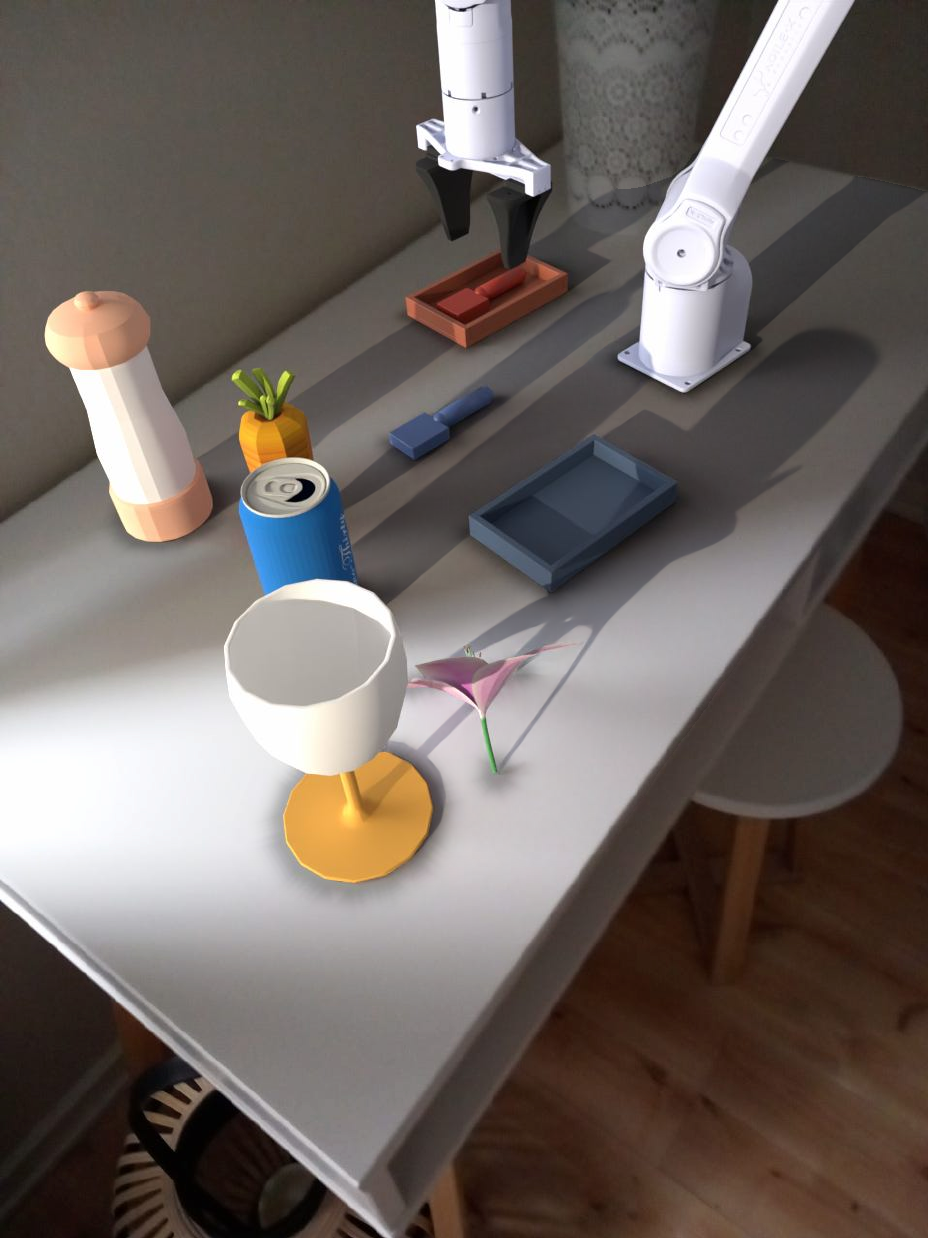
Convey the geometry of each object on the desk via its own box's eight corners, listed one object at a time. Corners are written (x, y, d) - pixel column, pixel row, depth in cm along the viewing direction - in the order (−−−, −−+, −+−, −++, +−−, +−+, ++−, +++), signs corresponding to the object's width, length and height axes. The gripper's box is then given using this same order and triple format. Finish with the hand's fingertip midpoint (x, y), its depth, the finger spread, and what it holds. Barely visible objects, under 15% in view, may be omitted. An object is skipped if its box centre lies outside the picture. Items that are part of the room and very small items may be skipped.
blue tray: (593, 453, 80) (593, 433, 78) (675, 501, 75) (678, 481, 74) (469, 535, 74) (468, 515, 73) (551, 593, 70) (551, 573, 68)
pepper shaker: (231, 499, 79) (162, 280, 65) (169, 554, 75) (80, 334, 61) (167, 471, 82) (87, 257, 68) (103, 523, 78) (4, 307, 64)
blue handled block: (479, 391, 87) (478, 376, 86) (504, 406, 85) (503, 390, 84) (390, 444, 82) (387, 428, 81) (414, 460, 81) (412, 445, 80)
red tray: (507, 263, 102) (507, 244, 100) (567, 291, 97) (568, 273, 96) (407, 315, 96) (405, 296, 95) (466, 348, 92) (464, 329, 90)
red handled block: (513, 274, 99) (513, 259, 98) (535, 284, 98) (535, 269, 96) (437, 314, 95) (436, 299, 94) (459, 326, 93) (457, 311, 92)
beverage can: (349, 653, 67) (319, 524, 58) (261, 643, 68) (218, 515, 59) (374, 586, 71) (348, 456, 62) (290, 577, 72) (254, 449, 64)
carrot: (341, 518, 76) (307, 352, 65) (315, 561, 73) (274, 394, 62) (285, 507, 78) (242, 343, 67) (257, 549, 75) (206, 384, 64)
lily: (608, 711, 64) (578, 575, 61) (562, 812, 54) (524, 655, 50) (443, 720, 69) (408, 595, 65) (373, 815, 58) (327, 672, 55)
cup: (256, 856, 57) (179, 688, 45) (324, 735, 63) (272, 557, 51) (397, 904, 54) (355, 738, 43) (455, 773, 60) (432, 595, 48)
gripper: (381, 80, 79) (400, 240, 89) (502, 125, 71) (508, 295, 81) (447, 55, 82) (458, 212, 92) (570, 96, 74) (568, 264, 84)
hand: (486, 249), depth 87 cm, fingers open, 7 cm apart
